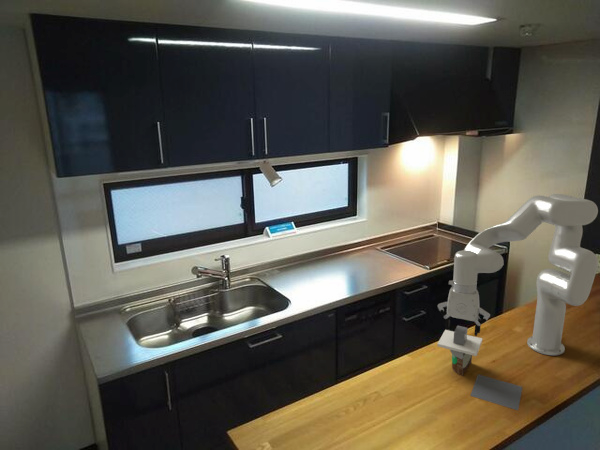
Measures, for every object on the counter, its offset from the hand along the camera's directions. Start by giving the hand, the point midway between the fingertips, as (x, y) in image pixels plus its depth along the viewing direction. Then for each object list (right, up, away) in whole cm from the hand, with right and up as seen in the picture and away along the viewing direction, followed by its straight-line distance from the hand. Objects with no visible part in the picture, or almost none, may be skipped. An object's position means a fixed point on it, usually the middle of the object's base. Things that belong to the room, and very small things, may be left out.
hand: (461, 330), depth 150 cm
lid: (0, -5, +1) cm, 5 cm away
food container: (0, -15, +4) cm, 15 cm away
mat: (+8, -18, -10) cm, 22 cm away
